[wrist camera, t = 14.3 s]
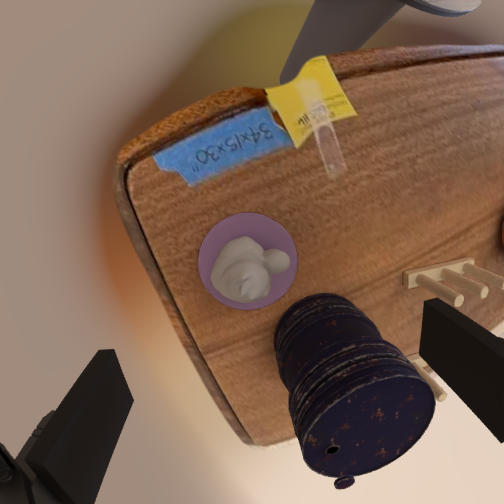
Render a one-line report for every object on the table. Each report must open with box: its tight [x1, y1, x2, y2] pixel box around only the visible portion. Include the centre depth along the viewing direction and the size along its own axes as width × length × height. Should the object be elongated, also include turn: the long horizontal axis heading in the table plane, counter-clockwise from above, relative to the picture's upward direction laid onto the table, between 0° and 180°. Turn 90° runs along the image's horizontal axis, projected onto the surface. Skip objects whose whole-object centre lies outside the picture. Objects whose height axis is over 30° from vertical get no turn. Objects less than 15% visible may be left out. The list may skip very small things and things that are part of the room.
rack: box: [403, 257, 504, 402], centre depth 28 cm, size 13×10×8 cm
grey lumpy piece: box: [210, 236, 290, 303], centre depth 24 cm, size 5×7×8 cm
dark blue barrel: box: [274, 293, 436, 489], centre depth 22 cm, size 10×10×18 cm
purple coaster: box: [198, 212, 298, 310], centre depth 29 cm, size 9×9×1 cm
